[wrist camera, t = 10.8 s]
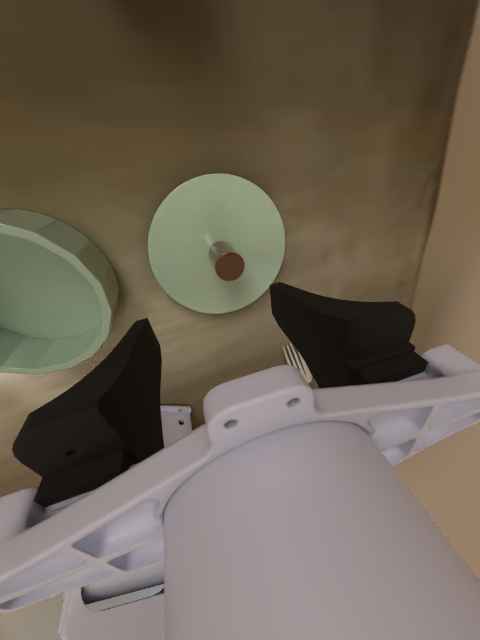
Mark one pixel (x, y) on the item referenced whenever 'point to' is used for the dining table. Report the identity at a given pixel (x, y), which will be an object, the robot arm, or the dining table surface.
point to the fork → (308, 375)
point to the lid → (216, 243)
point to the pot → (51, 294)
